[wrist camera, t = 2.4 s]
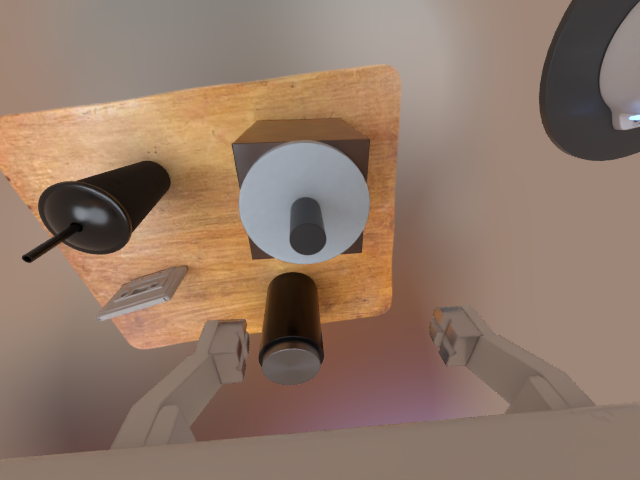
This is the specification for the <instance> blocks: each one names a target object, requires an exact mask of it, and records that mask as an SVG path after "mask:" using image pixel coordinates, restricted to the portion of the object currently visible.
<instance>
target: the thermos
mask: <svg viewBox="0 0 640 480" xmlns="http://www.w3.org/2000/svg"><path fill="white" fill-rule="evenodd" d="M323 359H324V352H323V342H322V333H321V323H320V314H319V304H318V295H317V287H316V285H315V283H314V281H313V280H312V279H311V278H309V277H308V276H306V275H304V274H301V273H295V272H290V273H285V274H281V275H279V276H277V277H276V278H275V279H273V280H272V281H271V283H270V284H269V287H268V291H267V299H266V306H265V314H264V321H263V328H262V336H261V344H260V351H259V363H260V365H261V367H262V371H263V374H264V375H265V377H267V378H268V379H269V380H270V381H272V382H275V383H278V384H282V385H297V384H301V383H304V382H307V381H309V380H311V379H312V378H314V377H315V376H316V375H317V374H318V372H319V370H320V365H321V364H322V362H323Z"/></svg>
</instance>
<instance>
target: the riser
mask: <svg viewBox="0 0 640 480" xmlns="http://www.w3.org/2000/svg"><path fill="white" fill-rule="evenodd" d="M298 140H312V141H317V142H322V143H325V144H328V145H330V146H333V147H335V148H337V149H338V150H340V151H341V152H343V153H344V154H345V155H346V156H348V157H349V158H350V159H351V160H352V161H353V163H354V164H355V165H356V166H357V168H358V169H359V170H360V172H361V174H362V175H363V177H364V179H365V181H366V184H367V173H368V160H369V146H370V139H369V138H368V137H366V136H365V135H363V134H362V133H361V132H359V131H358V130H356V129H355V128H354V127H352V126H351V125H349V124H348V123H347V122H345V121H344V120H342V119H341V118H329V119H295V120H262V121H256V122H255V123H254V124H253V125H252V126H251V127H250V128H249V129H248V130H247V131H246V132H244V133H243V134H242V135H241V136H240V137H239V138H238V139H237V140H236V141H235V142H234V143H232V148H233V154H234V159H235V165H236V170H237V176H238V181H239V187H240V190H241V187H242V184H243V181H244V179H245V177H246V175H247V173H248V171H249V170H250V168H251V167H252V165H253V164H254V163H255V162H256V161H257V160H258V159H259V158H260V157H261V156H262V155H263V154H264V153H266V152H267V151H269V150H270V149H272V148H274V147H276V146H278V145H281V144H283V143H287V142H291V141H298ZM248 237H249V235H248ZM362 242H363V231H362V233H361V234H360V236H359V237H358V238H357V240H356V241H355V242H354V243H353V244H352V245H351V246H350V247H349V248H348V249H347V250H345V251H344V252H343V253H341V254H352V253H362ZM249 243H250V248H251V254H252V259H270V258H274V257H272V256H270V255H269V254H267V253H265V252H264V251H263V250H262V249H260V248H259V247H258V246H257V245H256V244H255V243H254V242H253V241H252V239H251V238H250V237H249Z"/></svg>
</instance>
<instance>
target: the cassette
mask: <svg viewBox="0 0 640 480" xmlns="http://www.w3.org/2000/svg"><path fill="white" fill-rule="evenodd" d="M187 271H188V269H187V267H186V266H182V267H179V268H176V267H173V268H169V269H166V270H163V271H160V272H156V273H153V274H150V275H147V276H144V277H140V278H137V279H134V280H131V282H130V283H127V284H124V285H123V286H122V287H121V288H120V289H119V290H118V291H117V293H116V294H115V295H114V296H113V297H112V298H111V300H110V301H109V302H108V303H107V304H106V305H105V306H104V308H103V309H102V310H101V311H100V312H99V313H98V315H97V316H96V319H97V320H99V321H103V320H107V319H110V318H113V317H117V316H120V315H123V314H126V313H130V312H133V311H136V310H140V309H143V308H146V307H150V306H153V305H156V304H160V303H163V302H166V301H169V300H171V298H172V297H173V295H174V293H175V291H176V290H177V288H178V286H179V285H180V283H181V281H182V279H183V278H184V276H185V274H186V273H187Z"/></svg>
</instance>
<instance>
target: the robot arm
mask: <svg viewBox="0 0 640 480" xmlns="http://www.w3.org/2000/svg"><path fill="white" fill-rule="evenodd" d="M599 85H600V92H601V96H602V98H603V100H604V102H605V103H606V104H607V106H608V107H609V108H610V110H611V112H612V124H613V127H614V129H616V130H628V129H632V128H637V127H640V1H639V2H638V3H637V5H636V6H635V7H634V8H633V9H632V10H631V11H630V13H629V14H628V15H627V16H626V18H625V19H624V20H623V22H622V23H621V25H620V26H619V28H618V29H617V31H616V33H615V34H614V36H613V38H612V40H611V42H610V44H609V46H608V48H607V51H606V53H605V56H604V59H603V62H602V66H601V71H600V79H599ZM433 315H434V317H435V318H434V319H433V320H432V321H431V323H430V326H429V329H430V335H431V338H432V341H433V343H434V344H435V345H437V346H438V347H440V350H439V354H440V355H441V357H442V359H443V361H444V363H445V364H446V366H466V367H467V368H468V369H470V370H471V371H472V372H473V373H474V374H475V375H477V376H478V377H479V378H480V379H481V380H483V381H484V382H485V383H486V384H487V385H488V386H490V387H491V388H492V389H493V390H494V391H496V392H497V393H498V394H499V395H500V396H501V397H503V398H504V399H505V400H506V401H507V402H508V403H510V406H509V407H508V409H507V410H506V412H505V414H500V415H489V416H478V417H468V418H456V419H445V420H434V421H423V422H412V423H400V424H389V425H379V426H368V427H356V428H345V429H335V430H324V431H313V432H301V433H290V434H280V435H269V436H257V437H246V438H236V439H225V440H214V441H203V442H196V440H195V438H194V436H193V434H192V432H191V430H190V428H189V427H190V426H191V425H192V423H193V422H194V421H195V419H196V418H197V417H198V415H199V414H200V413H201V412H202V410H203V409H204V407H205V406H206V405H207V404H208V402H209V401H210V400H211V398H212V397H213V396H214V395H215V393H216V392H217V390H218V389H219V388H220V387H221V384H226V383H236V382H243V381H244V376H245V370H246V363H245V359H246V358H247V357H248V353H249V334H248V332H247V331H246V327H247V324H246V320H245V319H231V320H208V321H207V322H206V323H205V325H204V328H203V330H202V333H201V335H200V338H199V341H198V343H197V346H196V349H195V351H194V354H193V355H190V356H188V357H187V358H186V359H185V360H184V361H182V362H181V363H180V364H179V365H178V366H177V367H176V368H175V369H173V370H172V371H171V372H170V373H169V374H168V375H167V376H166V377H164V378H163V379H162V380H161V381H160V382H159V383H158V384H157V385H156V386H154V387H153V388H152V389H151V390H150V391H149V392H148V393H147V394H146V395H144V396H143V397H142V398H141V399H140V400H139V401H138V402H137V403H135V405H133V406H132V407H131V409H130V411H129V413H128V415H127V417H126V419H125V421H124V423H123V425H122V427H121V429H120V430H119V433H118V435H117V436H116V438H115V440H114V442H113V444H112V446H111V448H110V450H101V451H91V452H79V453H68V454H57V455H46V456H36V457H35V456H34V457H24V458H12V459H0V480H640V402H633V403H622V404H611V405H600V406H596V405H595V403H594V402H593V401H592V400H591V399H590V398H589V397H588V396H587V395H586V394H585V393H584V392H583V391H582V390H581V389H580V388H579V387H578V386H577V385H576V383H575V382H574V381H573V380H572V379H571V378H570V377H569V376H568V375H567V374H566V373H565V372H563V371H561V370H560V369H558V368H556V367H554V366H553V365H551V364H549V363H547V362H545V361H544V360H542V359H541V358H539V357H537V356H535V355H534V354H532V353H530V352H528V351H527V350H525V349H523V348H521V347H520V346H518V345H516V344H514V343H513V342H511V341H509V340H507V339H506V338H504V337H502V336H501V335H496V334H495V333H494V332H493V331H492V330H491V328H490V327H489V326H488V325H487V324H486V322H485V321H484V320H483V319H482V318H481V316H480V315H479V314H478V313H477V311H476V310H475V309H474V308H473V307H472V306H459V307H458V306H455V307H441V308H436V309H435V310H434V312H433Z"/></svg>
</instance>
